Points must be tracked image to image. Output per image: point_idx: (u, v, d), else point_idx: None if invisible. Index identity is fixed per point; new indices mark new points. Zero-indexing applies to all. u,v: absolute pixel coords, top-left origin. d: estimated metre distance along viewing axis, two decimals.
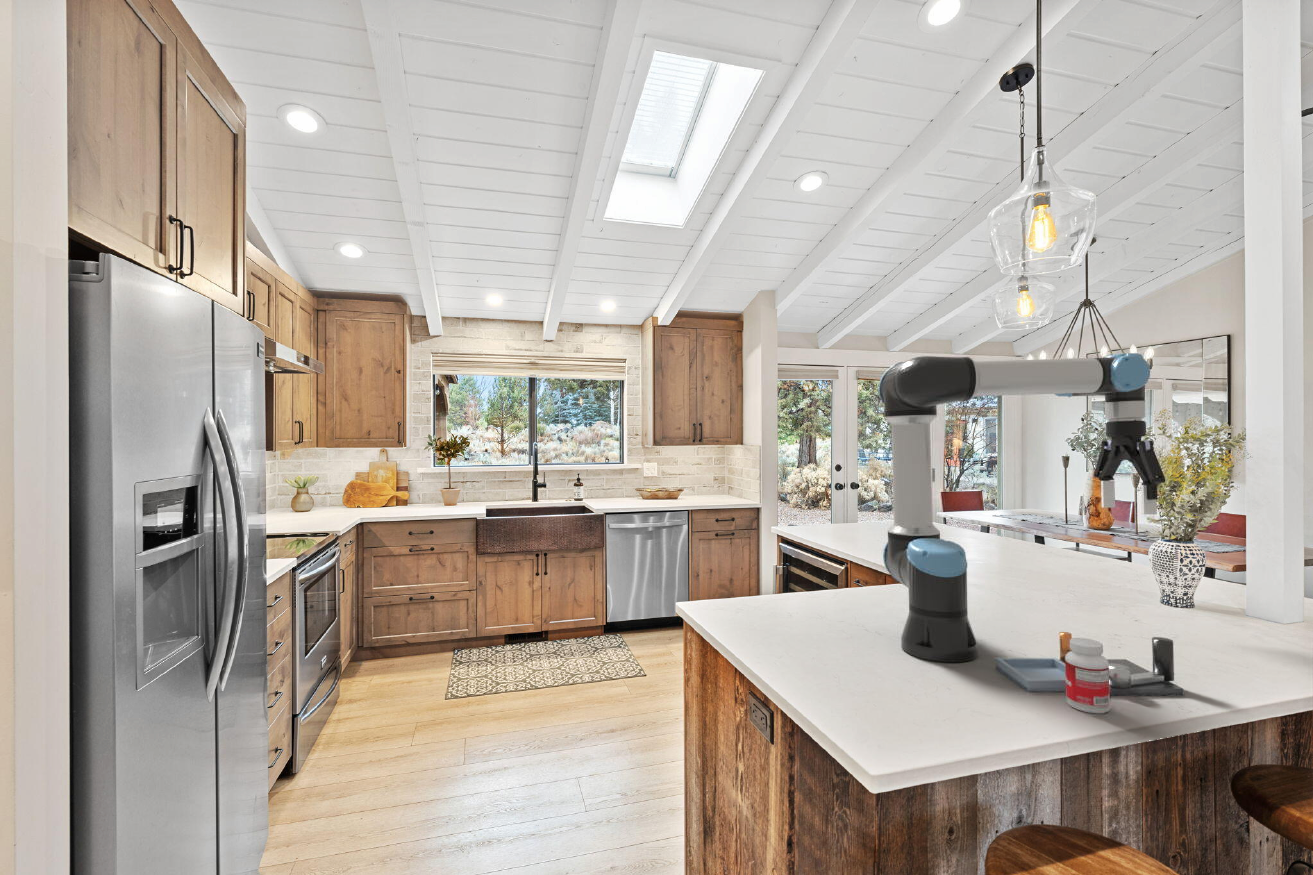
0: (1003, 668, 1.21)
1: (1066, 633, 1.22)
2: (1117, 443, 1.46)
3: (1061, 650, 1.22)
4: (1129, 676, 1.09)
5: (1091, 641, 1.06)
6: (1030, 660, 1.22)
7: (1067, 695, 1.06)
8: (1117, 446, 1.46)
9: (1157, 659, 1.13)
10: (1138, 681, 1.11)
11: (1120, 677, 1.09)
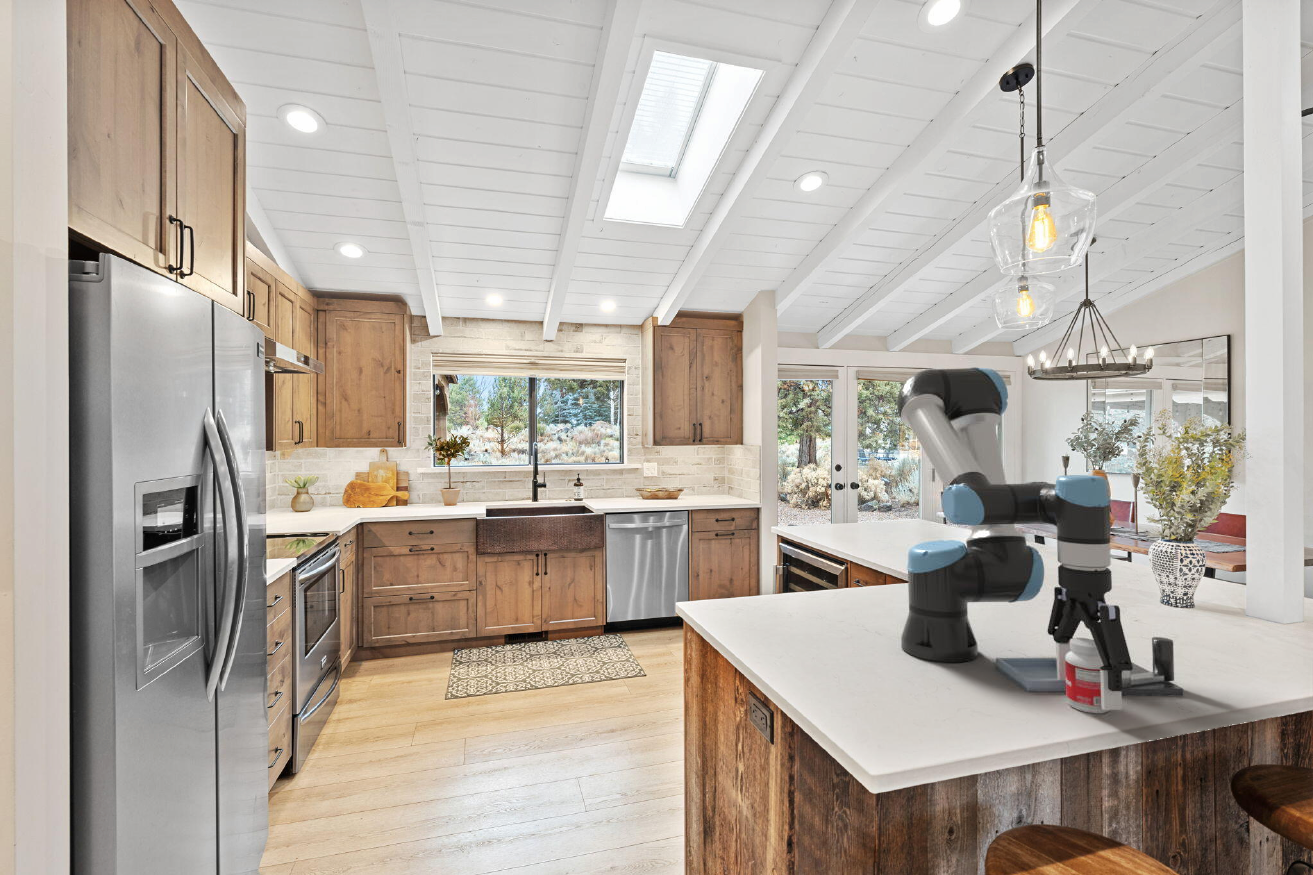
0: (1003, 668, 1.21)
1: None
2: (1073, 594, 1.07)
3: None
4: (1129, 676, 1.09)
5: (1091, 641, 1.06)
6: (1030, 660, 1.22)
7: (1067, 695, 1.06)
8: (1073, 600, 1.06)
9: (1157, 659, 1.13)
10: (1138, 681, 1.11)
11: None
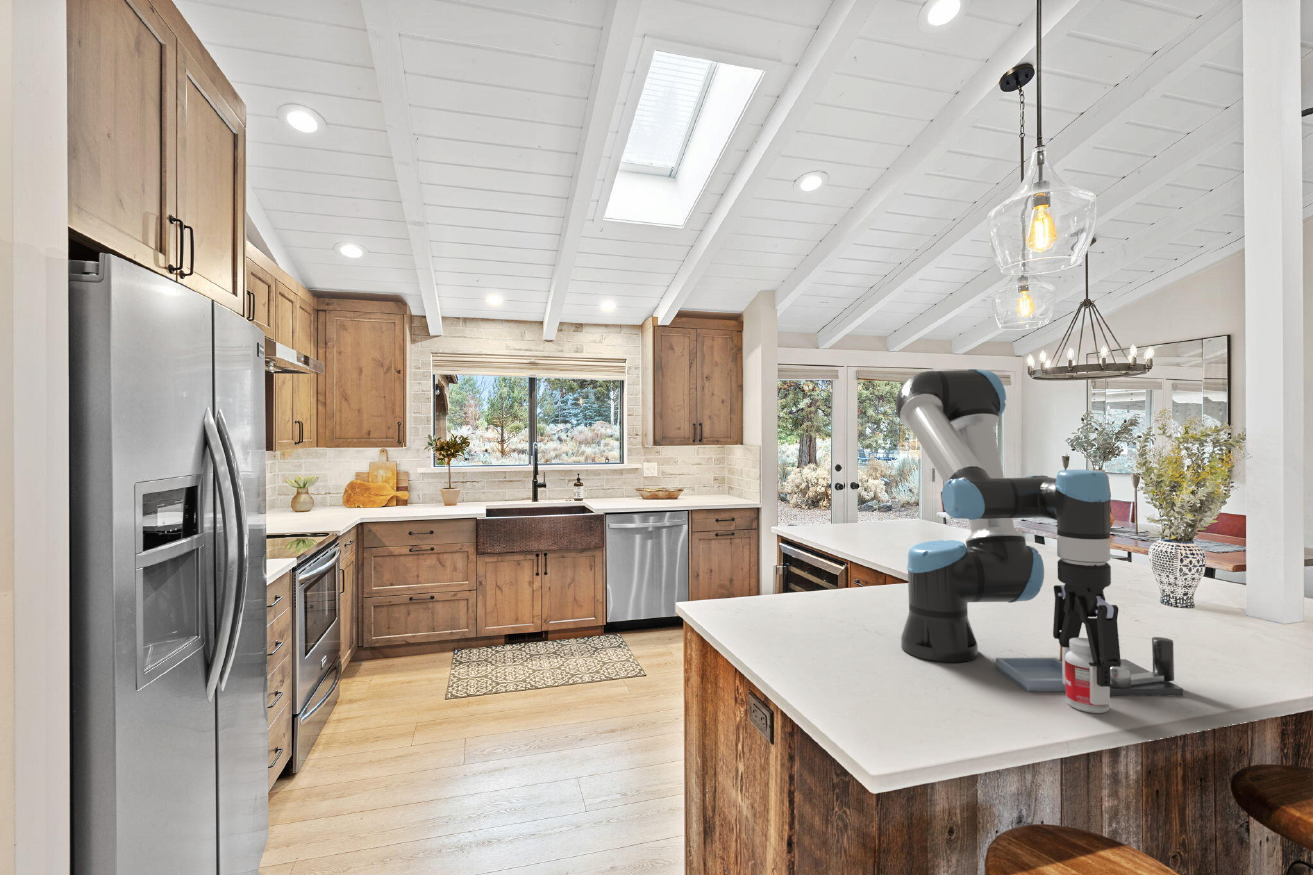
0: (1003, 668, 1.21)
1: None
2: (1071, 586, 1.07)
3: (1061, 650, 1.22)
4: (1129, 676, 1.09)
5: None
6: (1030, 660, 1.22)
7: (1067, 695, 1.06)
8: (1071, 593, 1.07)
9: (1157, 659, 1.13)
10: (1138, 681, 1.11)
11: (1120, 677, 1.09)
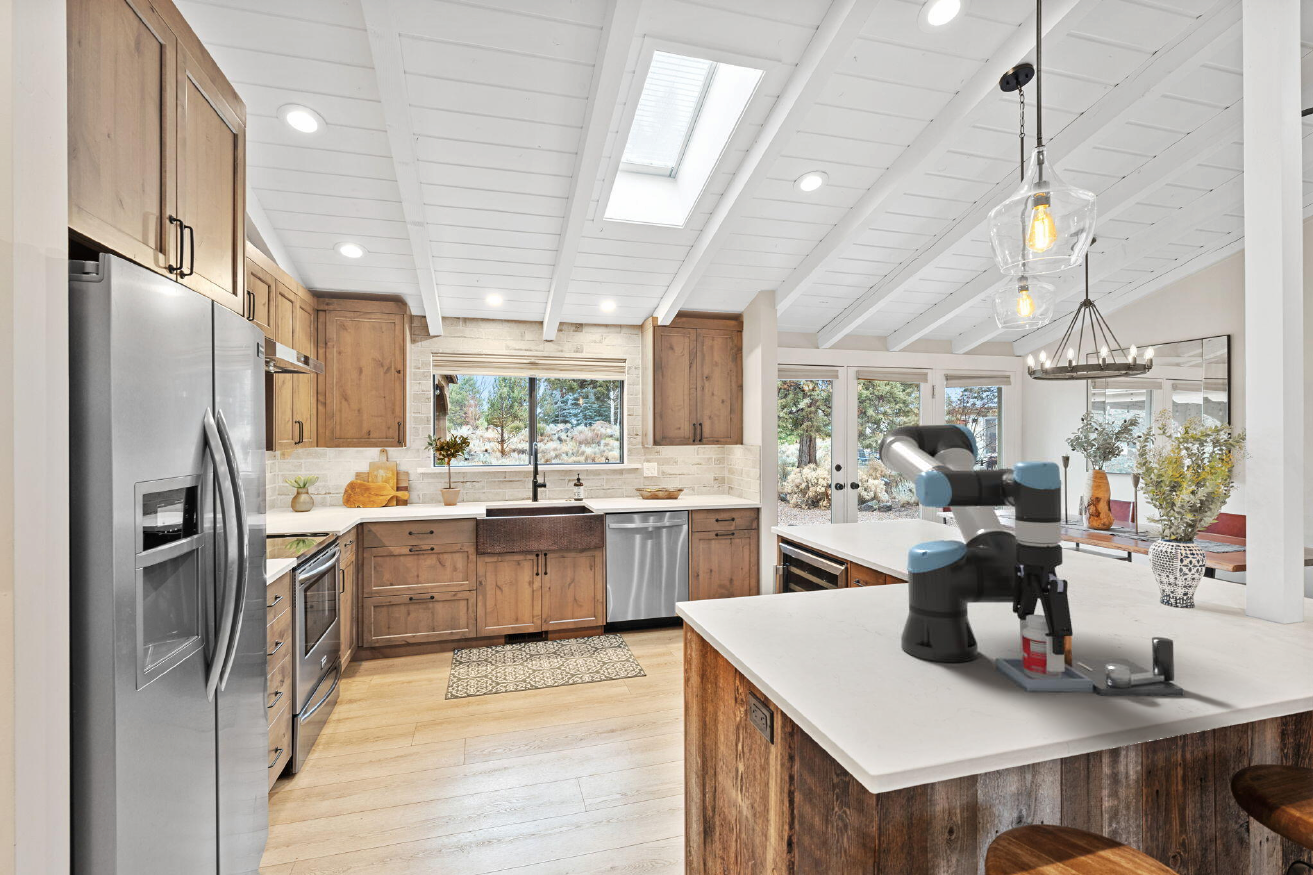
0: (1003, 668, 1.21)
1: None
2: (1029, 567, 1.19)
3: None
4: (1129, 676, 1.09)
5: None
6: None
7: (1023, 666, 1.18)
8: (1029, 573, 1.19)
9: (1157, 659, 1.13)
10: (1138, 681, 1.11)
11: (1120, 677, 1.09)
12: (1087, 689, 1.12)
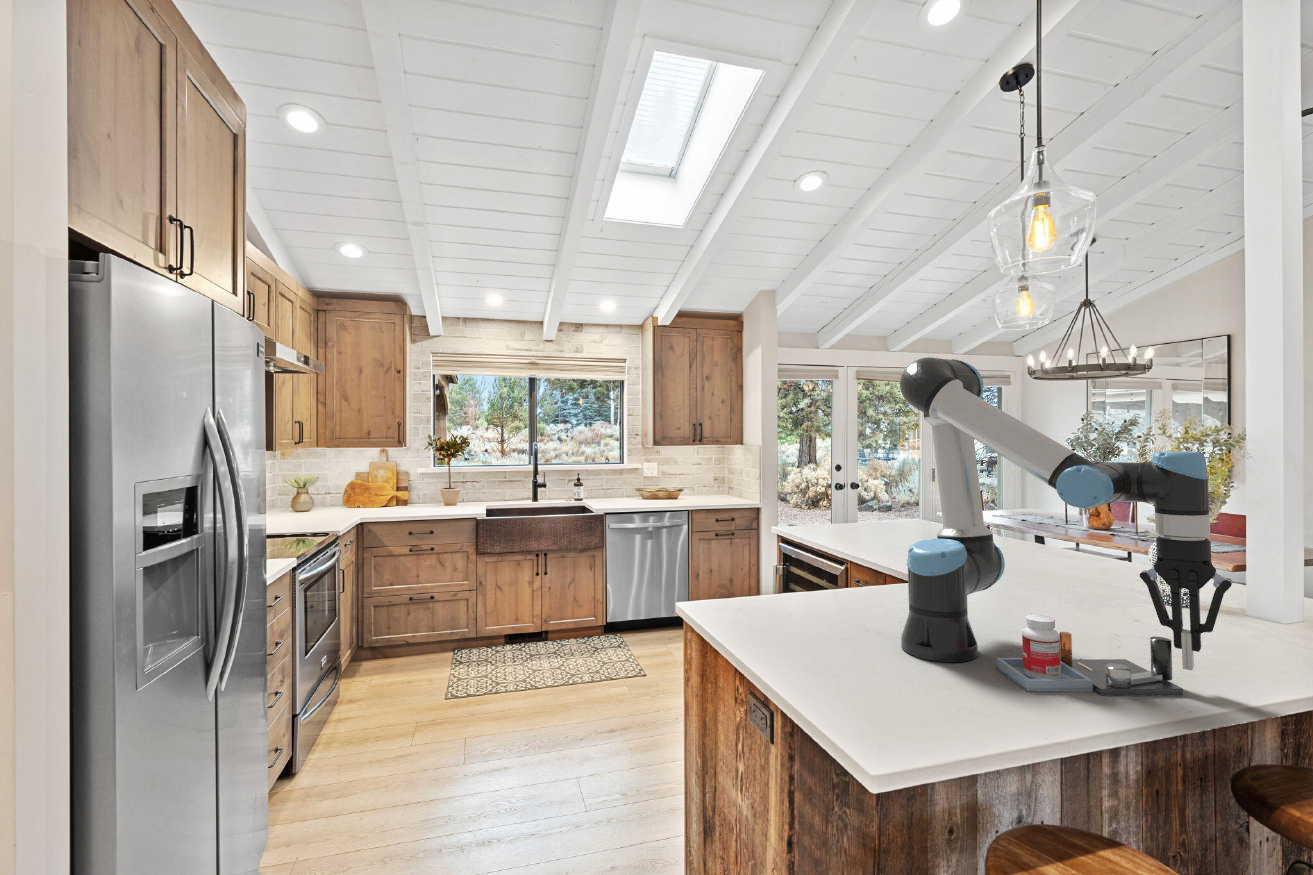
0: (1003, 668, 1.21)
1: (1066, 633, 1.22)
2: (1169, 560, 1.12)
3: (1061, 650, 1.22)
4: (1129, 676, 1.09)
5: (1045, 617, 1.18)
6: None
7: (1023, 666, 1.18)
8: (1175, 570, 1.11)
9: (1155, 658, 1.13)
10: (1137, 680, 1.11)
11: (1120, 677, 1.09)
12: (1087, 689, 1.12)
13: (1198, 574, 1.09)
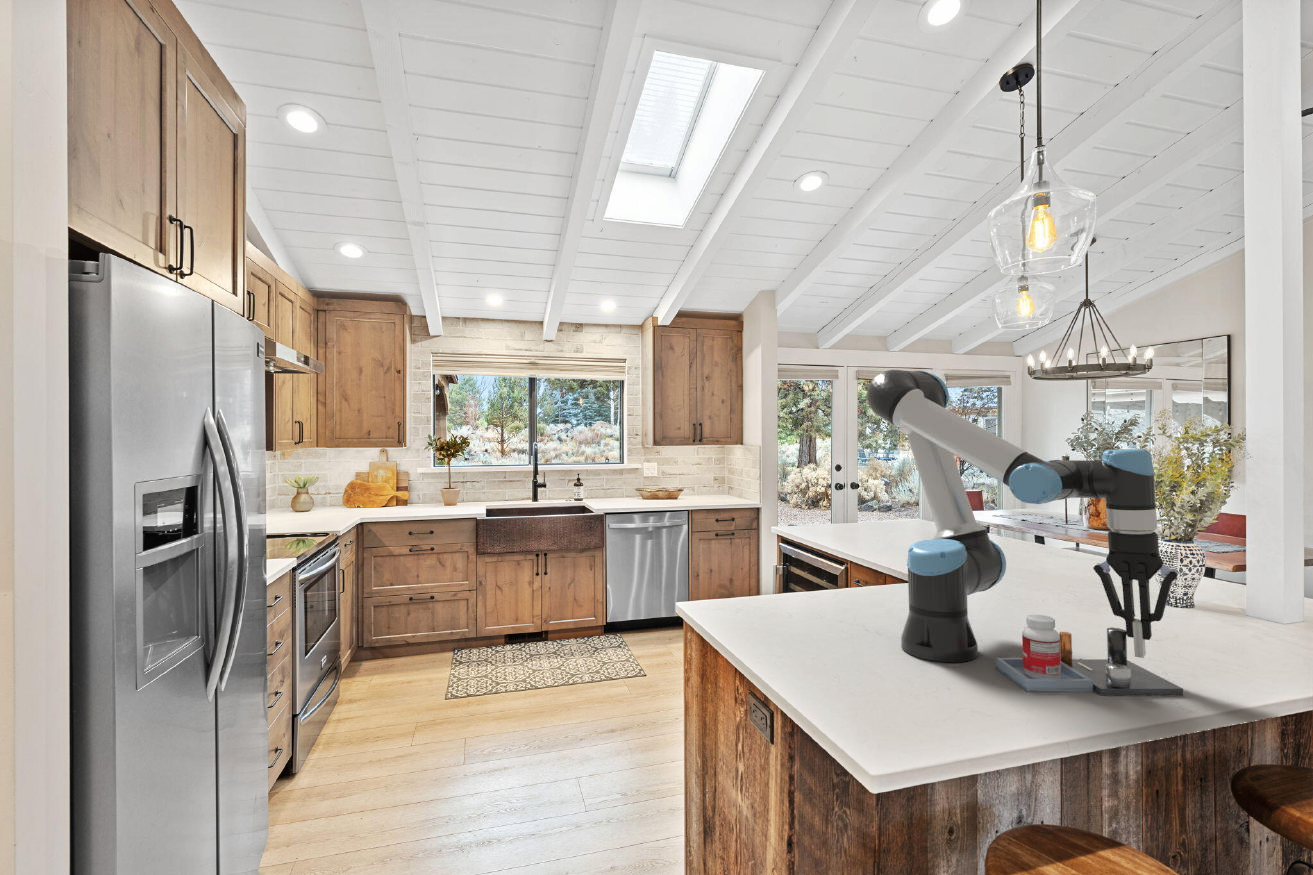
0: (1003, 668, 1.21)
1: (1066, 633, 1.22)
2: (1120, 553, 1.17)
3: (1061, 650, 1.22)
4: None
5: (1045, 617, 1.18)
6: None
7: (1023, 666, 1.18)
8: (1125, 562, 1.17)
9: (1118, 650, 1.18)
10: None
11: (1128, 677, 1.09)
12: (1087, 689, 1.12)
13: (1147, 566, 1.15)
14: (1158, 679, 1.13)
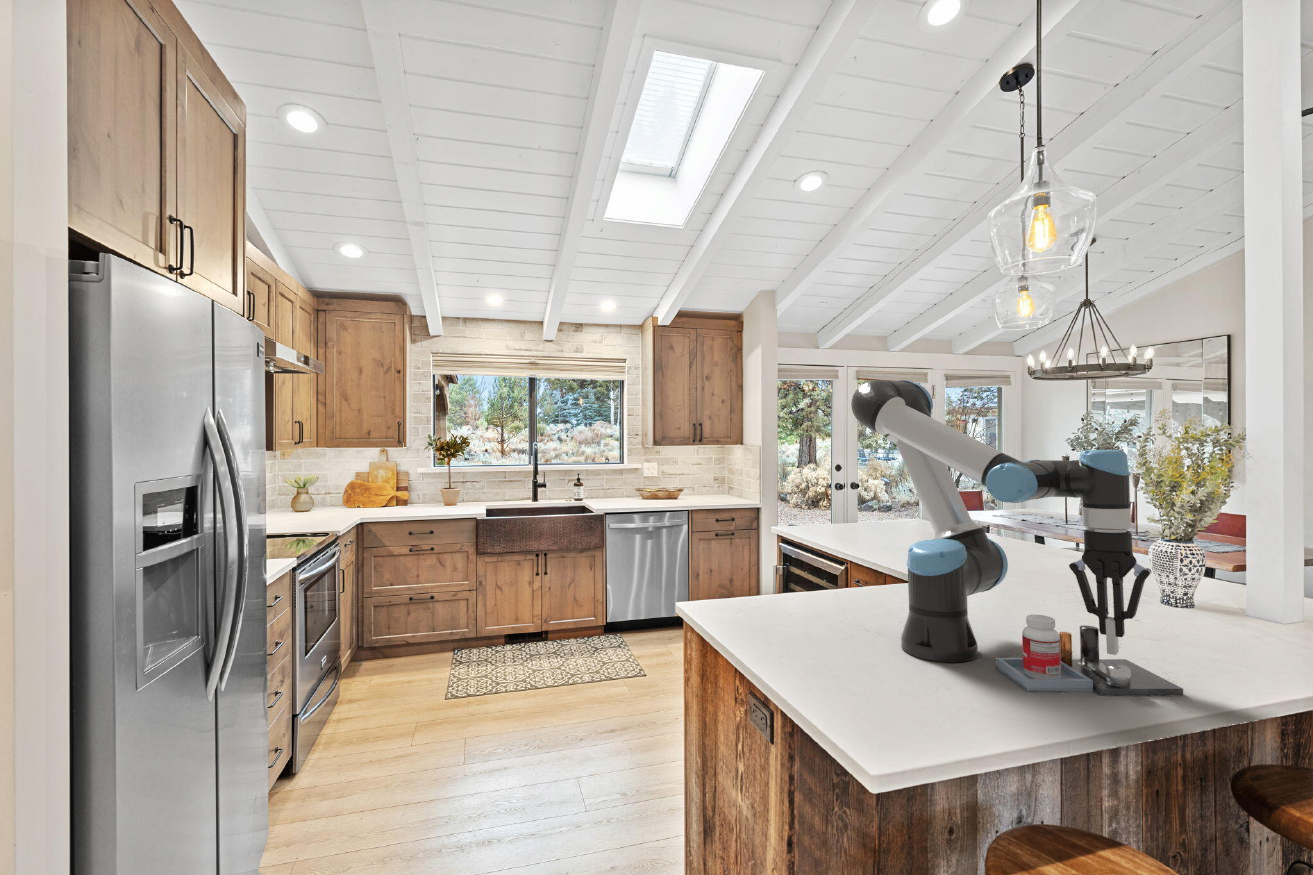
0: (1003, 668, 1.21)
1: (1066, 633, 1.22)
2: (1095, 552, 1.20)
3: (1061, 650, 1.22)
4: None
5: (1045, 617, 1.18)
6: None
7: (1023, 666, 1.18)
8: (1100, 560, 1.19)
9: (1094, 647, 1.19)
10: None
11: (1130, 676, 1.10)
12: (1087, 689, 1.12)
13: (1120, 564, 1.17)
14: (1158, 679, 1.13)
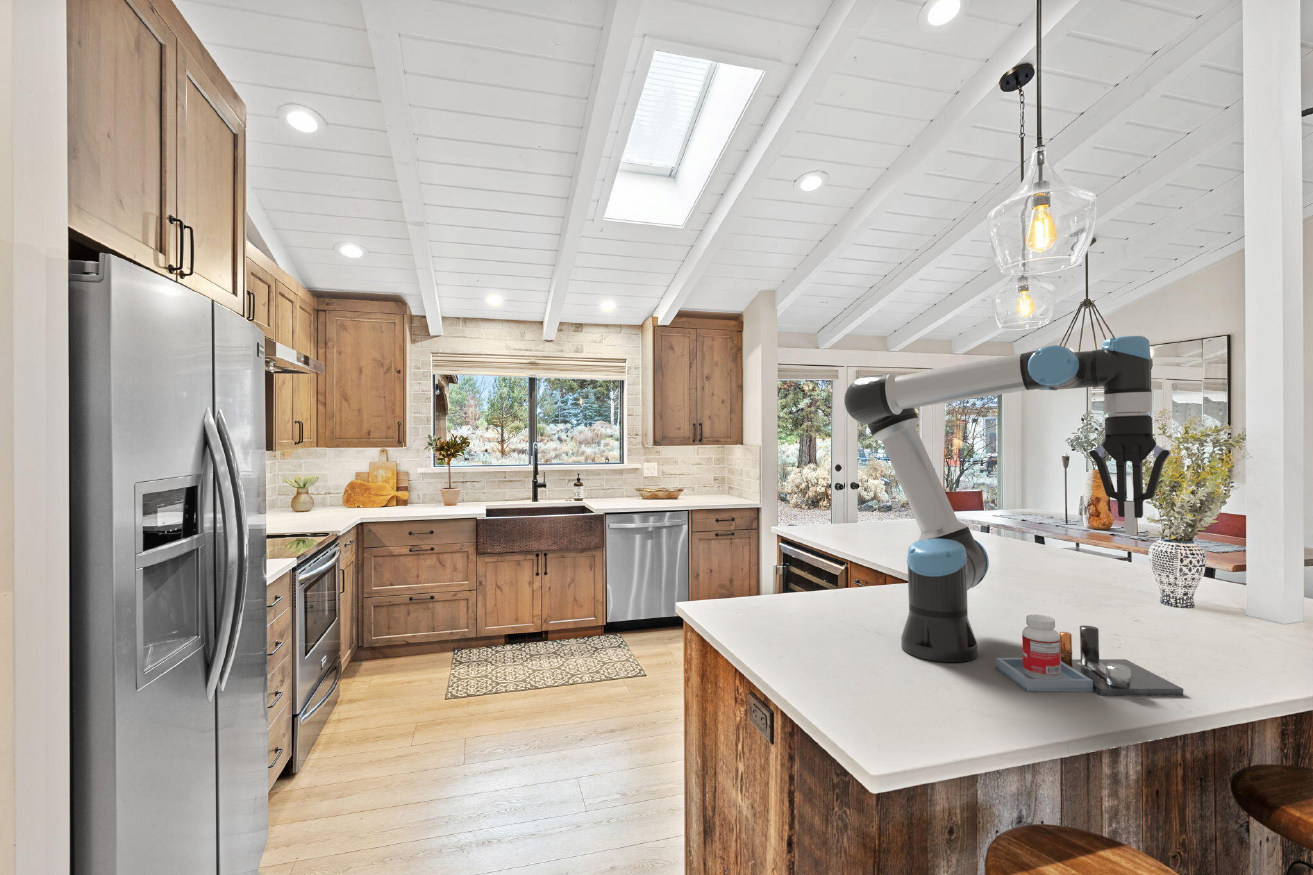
0: (1003, 668, 1.21)
1: (1066, 633, 1.22)
2: (1115, 437, 1.23)
3: (1061, 650, 1.22)
4: None
5: (1045, 617, 1.18)
6: None
7: (1023, 666, 1.18)
8: (1120, 445, 1.22)
9: (1094, 647, 1.19)
10: None
11: (1130, 676, 1.10)
12: (1087, 689, 1.12)
13: (1140, 447, 1.20)
14: (1158, 679, 1.13)
